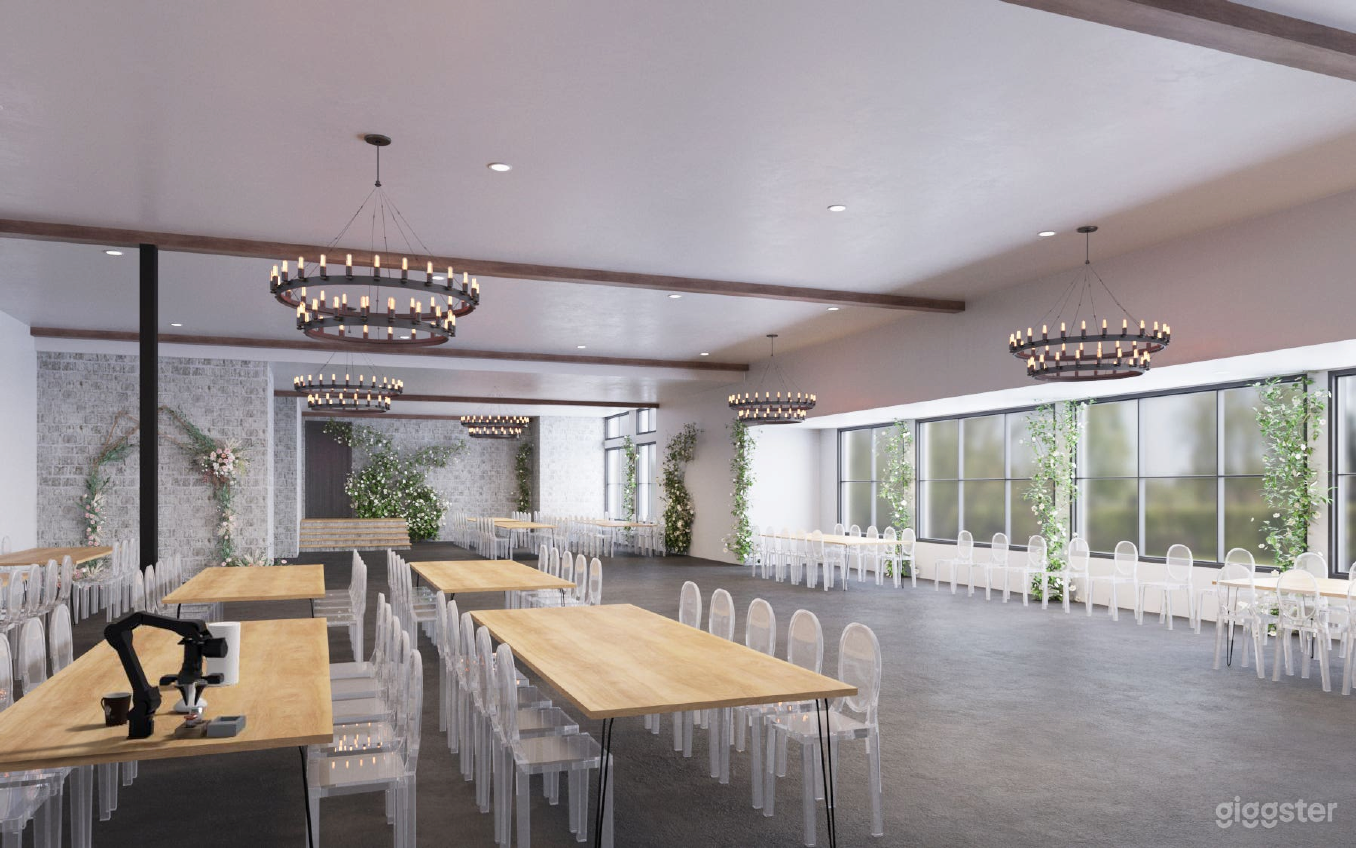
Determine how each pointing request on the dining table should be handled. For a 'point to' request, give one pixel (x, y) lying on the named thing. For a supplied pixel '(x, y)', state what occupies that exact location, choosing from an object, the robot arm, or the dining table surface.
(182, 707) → the flower in vase
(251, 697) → the dining table surface
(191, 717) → the pin
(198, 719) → the peg
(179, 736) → the socket block
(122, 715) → the coffee mug
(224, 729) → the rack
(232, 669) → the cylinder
